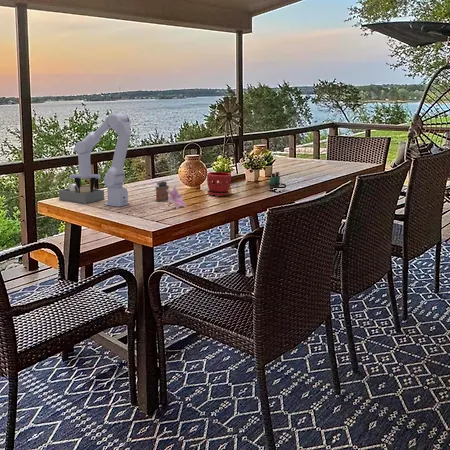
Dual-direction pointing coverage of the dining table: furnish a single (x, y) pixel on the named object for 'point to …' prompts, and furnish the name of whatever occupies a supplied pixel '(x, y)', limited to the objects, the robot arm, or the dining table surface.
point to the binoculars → (275, 181)
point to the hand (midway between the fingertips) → (86, 192)
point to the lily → (175, 197)
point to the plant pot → (220, 187)
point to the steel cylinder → (73, 188)
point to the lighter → (161, 191)
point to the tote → (81, 196)
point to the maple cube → (85, 189)
